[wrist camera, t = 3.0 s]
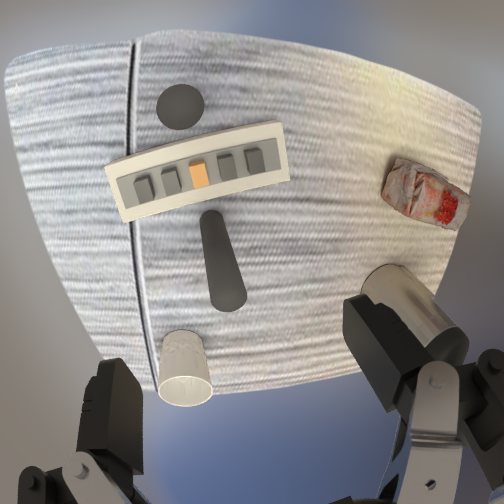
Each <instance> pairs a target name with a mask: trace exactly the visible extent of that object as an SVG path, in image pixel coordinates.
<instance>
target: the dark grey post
mask: <svg viewBox="0 0 504 504" xmlns="http://www.w3.org/2000/svg"><path fill="white" fill-rule="evenodd" d="M156 111H157V115H158V118H159V119H160V121H161V122H162V123H163V124H164V125H165V126H167V127H168V128H171V129H175V130H183V129H187V128H190V127H192V126H193V125H195V124H196V123H197V122H198V121H199V120H200V118H201V116H202V114H203V111H204V100H203V98H202V95H201V94H200V92H199V91H198V90H197V89H195V88H194V87H192V86H189V85H185V84H178V85H174V86H171V87H169V88H168V89H166V90H165V91H164V92H163V93H162V94H161V95H160V97H159V99H158V101H157V106H156Z"/></svg>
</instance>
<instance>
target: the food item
mask: <svg viewBox="0 0 504 504" xmlns="http://www.w3.org/2000/svg"><path fill="white" fill-rule="evenodd" d="M444 178H446V179H448V178H447V177H445V176H443V175H441V174H440V173H438V172H436V171H435V170H434V169H431V168H429V167H426V166H424V165H422V164H420V163H415V162H411V161H410V160H409V161H408V160H404V159H399V158H398V159H396V160H395V166H394V167H393V168H392V170H391V172H390V173H389V174H388V176H387V179H386V184H385V186H384V189H383V192H382V195H381V196H382V197H383V199H384V200H385V201H386V202H388V203H389V204H390V205H391V206H393V207H394V209H395V210H398V211H399V212H400V213H402V214H403V215H405V216H408V217H410V218H413V219H416V220H418V221H422V222H425V223H428V224H432V225H436V226H441V227H442V228H445V229H451V230H454V231H456V229H458V228H459V227H460V226H461V225H462V223H463V221H464V220H465V218H466V216H467V213H468V210H469V207H470V203H471V197H470V196H469V195H468V194H467V193H465V192H464V191H462V190H461V189H460V188H458V187H457V186H454V185H453V184H450V183H448V181H447V180H445V179H444Z"/></svg>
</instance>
